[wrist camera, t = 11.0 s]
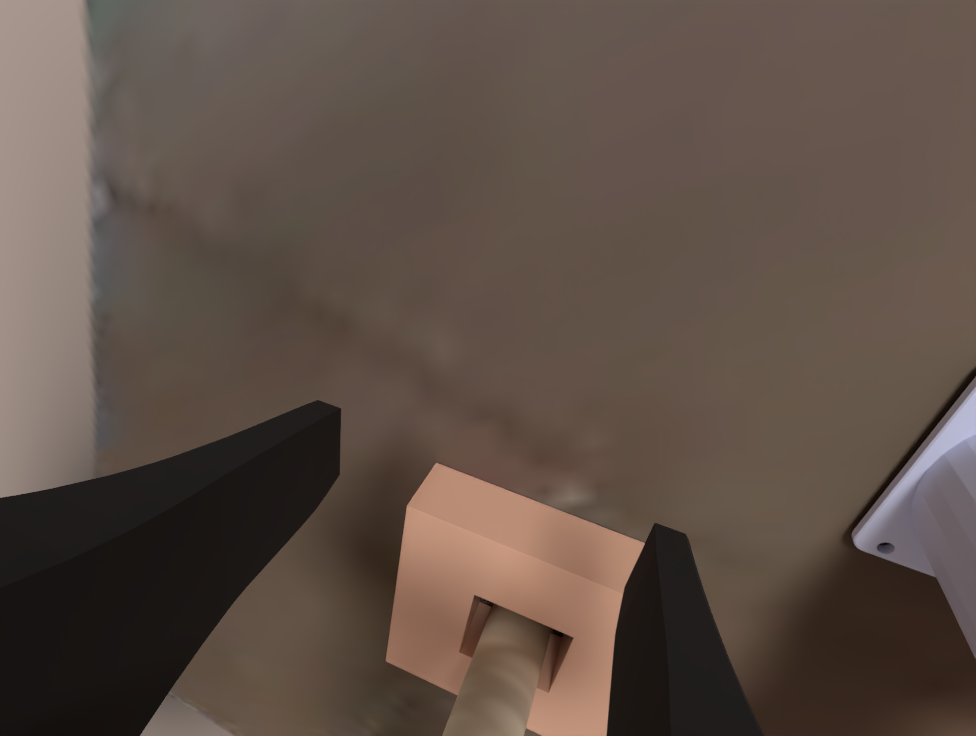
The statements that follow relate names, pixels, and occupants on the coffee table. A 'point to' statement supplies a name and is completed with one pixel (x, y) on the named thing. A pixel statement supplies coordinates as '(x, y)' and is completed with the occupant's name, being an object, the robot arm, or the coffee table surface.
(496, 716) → the peg
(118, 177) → the coffee table surface
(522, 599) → the socket block
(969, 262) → the coffee table surface
